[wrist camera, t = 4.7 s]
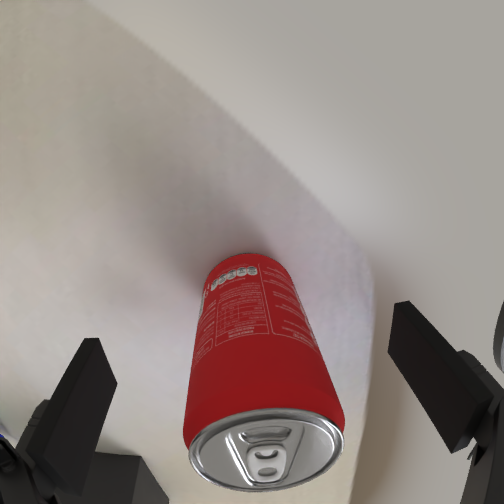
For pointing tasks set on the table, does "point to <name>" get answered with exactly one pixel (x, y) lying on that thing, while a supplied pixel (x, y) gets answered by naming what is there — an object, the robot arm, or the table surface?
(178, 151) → the table surface
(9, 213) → the table surface
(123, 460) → the black box
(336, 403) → the beverage can
